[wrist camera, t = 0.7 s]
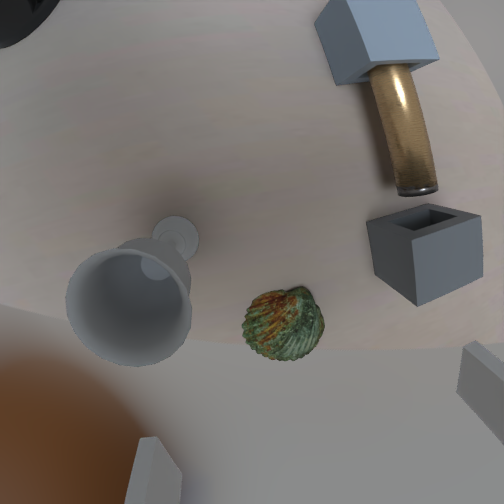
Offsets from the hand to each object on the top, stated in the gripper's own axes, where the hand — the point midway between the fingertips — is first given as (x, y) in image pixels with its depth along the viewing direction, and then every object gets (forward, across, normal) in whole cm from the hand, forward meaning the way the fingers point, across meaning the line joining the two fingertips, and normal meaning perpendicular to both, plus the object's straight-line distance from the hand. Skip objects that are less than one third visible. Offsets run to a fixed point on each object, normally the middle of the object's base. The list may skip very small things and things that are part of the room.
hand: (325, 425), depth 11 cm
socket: (+24, +17, -2) cm, 29 cm away
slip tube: (+21, +17, +15) cm, 31 cm away
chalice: (+24, -8, +5) cm, 26 cm away
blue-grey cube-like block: (+24, +16, +21) cm, 36 cm away
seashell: (+25, +1, -8) cm, 26 cm away
